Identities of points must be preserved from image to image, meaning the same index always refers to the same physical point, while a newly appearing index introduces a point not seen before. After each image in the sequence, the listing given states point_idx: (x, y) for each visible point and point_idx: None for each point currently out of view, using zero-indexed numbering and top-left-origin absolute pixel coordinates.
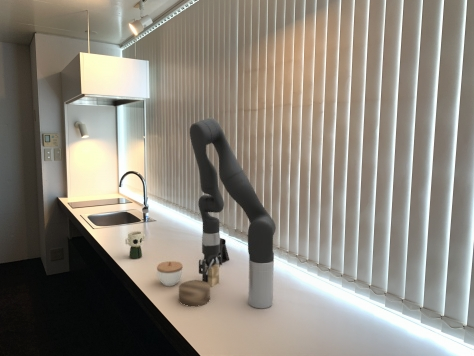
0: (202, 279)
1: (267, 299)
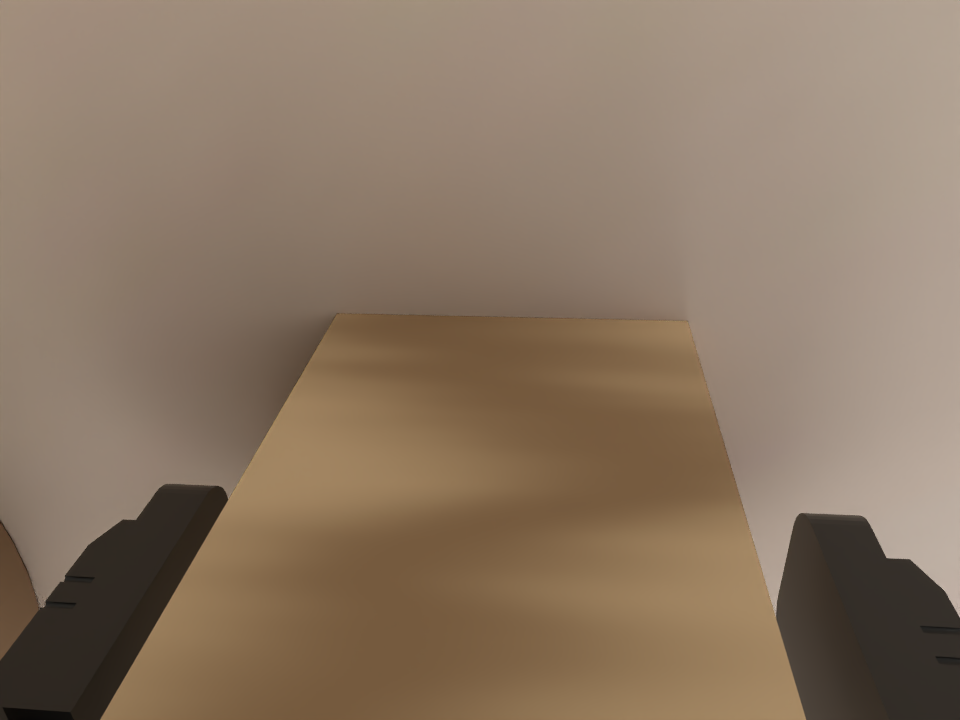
0: (72, 569)
1: None
